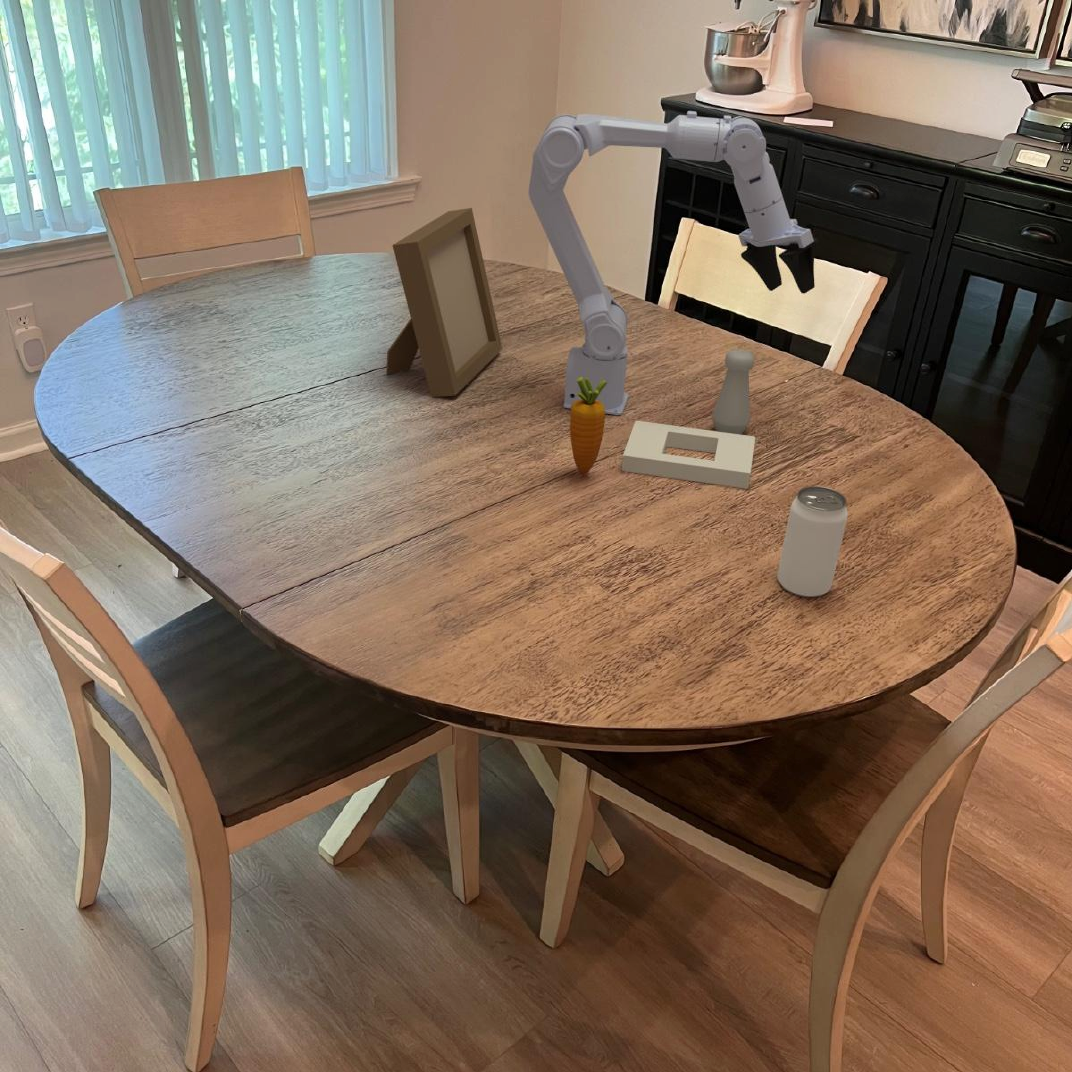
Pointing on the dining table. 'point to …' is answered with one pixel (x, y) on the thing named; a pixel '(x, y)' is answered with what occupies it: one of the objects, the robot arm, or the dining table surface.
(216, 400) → the dining table surface
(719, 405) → the salt shaker
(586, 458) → the carrot
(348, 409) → the dining table surface
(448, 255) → the photo frame
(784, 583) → the can
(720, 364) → the dining table surface
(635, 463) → the socket block
